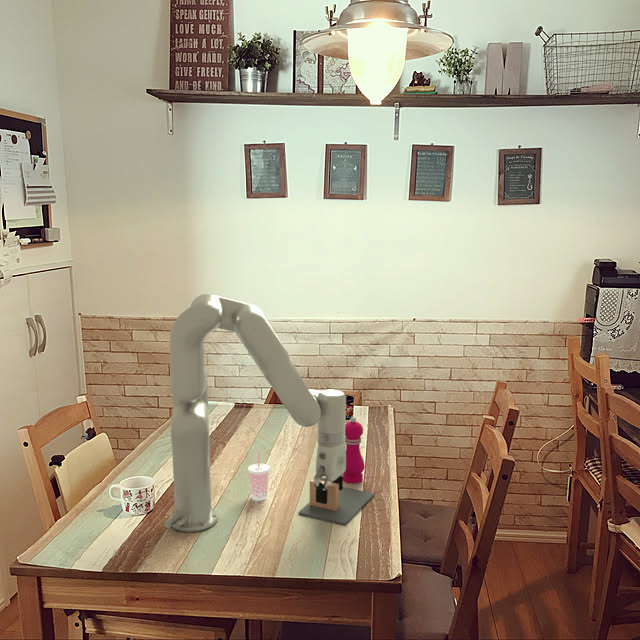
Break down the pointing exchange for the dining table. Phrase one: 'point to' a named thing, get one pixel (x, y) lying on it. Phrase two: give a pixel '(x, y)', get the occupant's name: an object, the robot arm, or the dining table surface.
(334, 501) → the tile
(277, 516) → the dining table surface
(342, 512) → the mat
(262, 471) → the beverage cup
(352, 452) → the pepper mill
